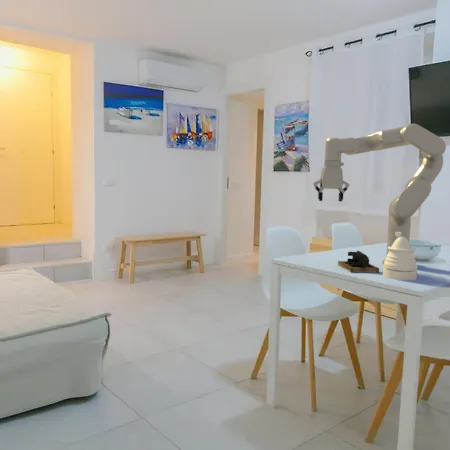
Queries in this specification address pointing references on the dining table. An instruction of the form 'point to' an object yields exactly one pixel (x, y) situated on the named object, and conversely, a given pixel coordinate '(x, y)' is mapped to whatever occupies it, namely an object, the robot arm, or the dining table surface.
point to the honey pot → (400, 260)
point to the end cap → (358, 260)
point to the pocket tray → (367, 269)
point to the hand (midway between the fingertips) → (330, 201)
